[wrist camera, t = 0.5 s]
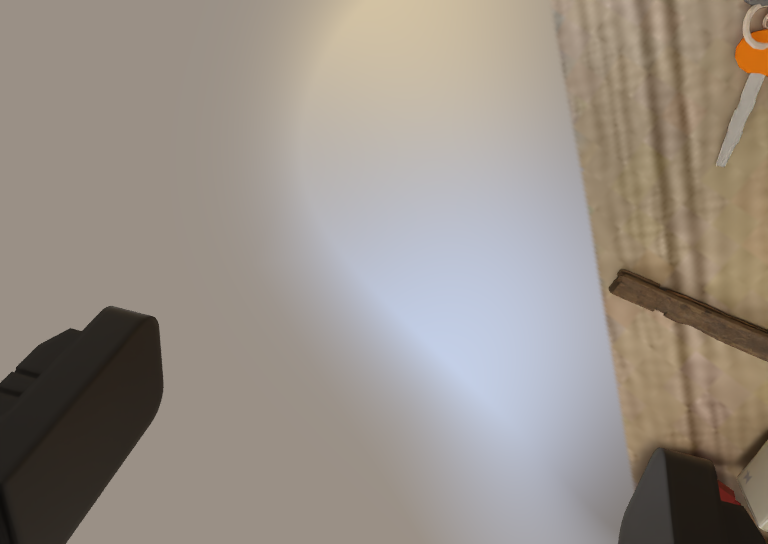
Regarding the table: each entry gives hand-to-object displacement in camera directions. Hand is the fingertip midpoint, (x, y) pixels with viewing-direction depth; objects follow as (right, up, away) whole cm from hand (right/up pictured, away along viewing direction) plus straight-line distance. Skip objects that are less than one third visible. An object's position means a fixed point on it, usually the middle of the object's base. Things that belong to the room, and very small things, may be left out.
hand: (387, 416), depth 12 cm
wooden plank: (+17, -3, +25) cm, 30 cm away
